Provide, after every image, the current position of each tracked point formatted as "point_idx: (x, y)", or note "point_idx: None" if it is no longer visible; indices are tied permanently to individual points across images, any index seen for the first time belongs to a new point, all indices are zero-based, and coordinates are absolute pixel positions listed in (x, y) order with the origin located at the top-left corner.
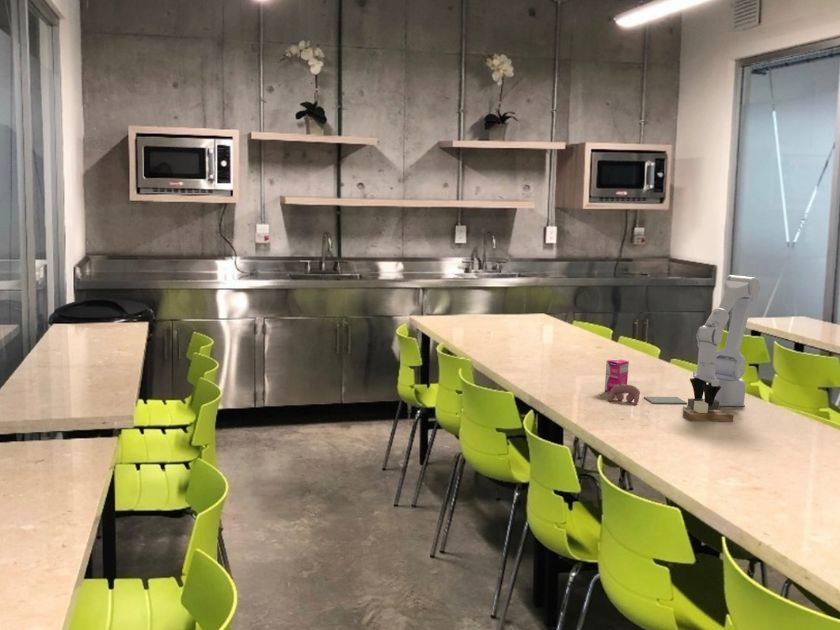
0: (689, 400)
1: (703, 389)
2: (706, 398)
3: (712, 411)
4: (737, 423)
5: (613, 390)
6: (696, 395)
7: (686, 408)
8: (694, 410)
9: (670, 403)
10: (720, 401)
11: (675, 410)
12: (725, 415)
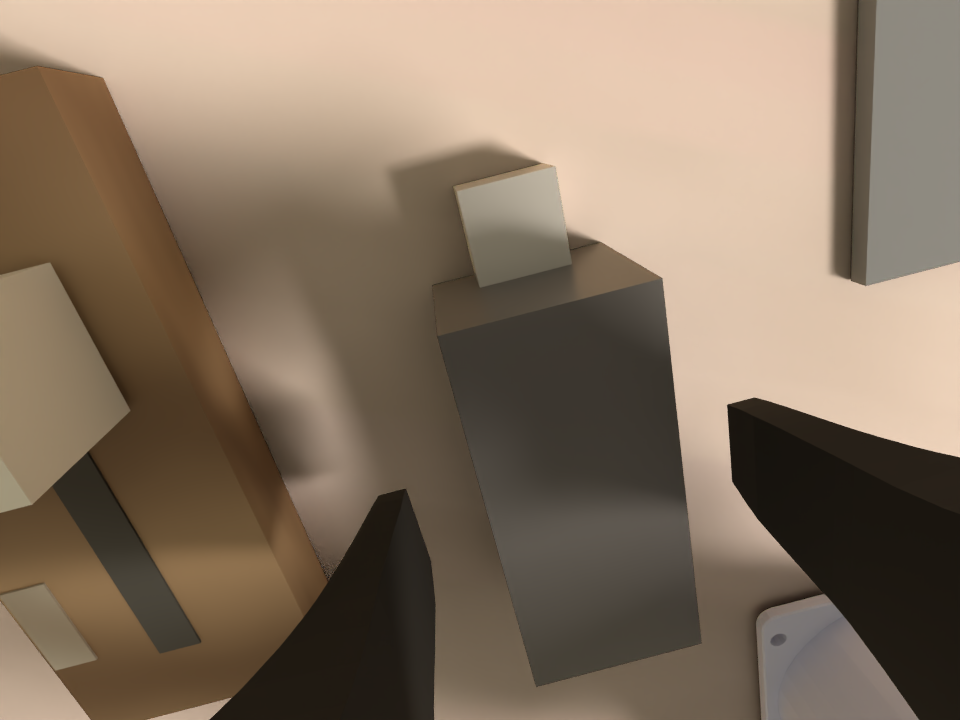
0: (593, 289)
1: (351, 686)
2: (331, 582)
3: (162, 533)
4: (44, 686)
5: None
6: (773, 447)
7: (461, 206)
8: (9, 273)
9: (864, 14)
10: (828, 656)
11: (449, 18)
12: (48, 648)
